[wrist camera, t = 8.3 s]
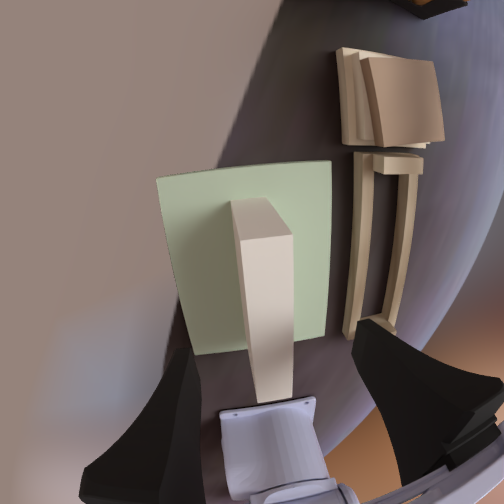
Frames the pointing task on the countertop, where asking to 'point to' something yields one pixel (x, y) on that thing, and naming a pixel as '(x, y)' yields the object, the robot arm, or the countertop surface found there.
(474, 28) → the countertop surface
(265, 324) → the cream rectangular block
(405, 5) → the ammunition clip
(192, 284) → the sage mat
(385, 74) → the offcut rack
